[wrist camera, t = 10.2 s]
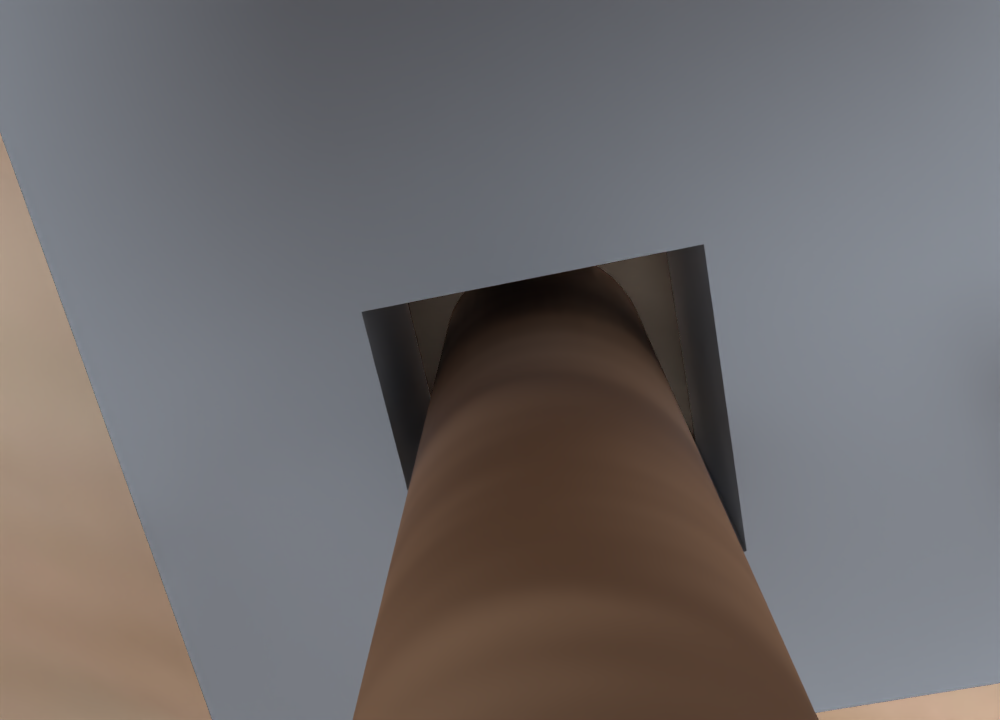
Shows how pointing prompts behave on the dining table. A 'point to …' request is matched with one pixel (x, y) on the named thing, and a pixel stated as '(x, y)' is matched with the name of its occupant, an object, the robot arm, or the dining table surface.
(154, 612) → the dining table surface
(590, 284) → the peg
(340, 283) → the socket station
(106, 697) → the dining table surface
